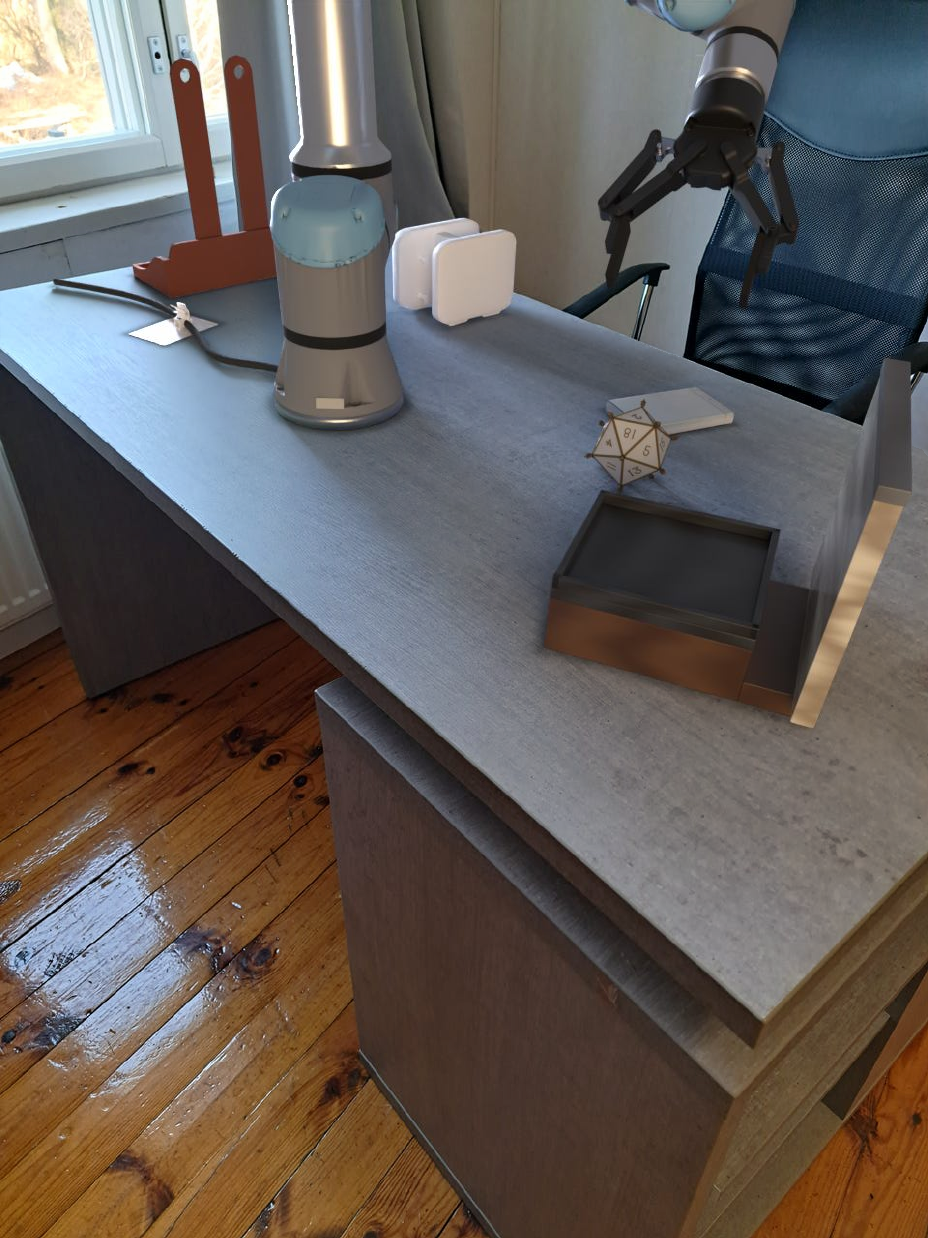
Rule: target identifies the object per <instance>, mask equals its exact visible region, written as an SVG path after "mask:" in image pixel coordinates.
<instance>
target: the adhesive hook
mask: <svg viewBox="0 0 928 1238" xmlns="http://www.w3.org/2000/svg"><path fill="white" fill-rule="evenodd" d="M169 306H170V307H171V308H173V309H174V310H176V311H173V312H174V313H177V316H176V317H175V318H173V317H172V318H173V327H174V328H176V329H178V330H180V331H181V330H183V329H184V328H185V326H184V321H185V320H188V321H189V322H190V323H193V319H192V318H191V316H192V315H190V311H189V309H188V308H187V306H186V304H185V303H184V302H178V301H177V302H176V305H173V304H170V305H169ZM179 318H181V319H180V320H179Z"/></svg>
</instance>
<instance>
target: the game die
mask: <svg viewBox="0 0 928 1238" xmlns="http://www.w3.org/2000/svg"><path fill="white" fill-rule="evenodd" d="M645 403H646V402H645V399H643V400H642V401H641V404H640V405H641V407H639V408H636V409H634V410H631V411H628V412H625V413H622V414H620V415H617V416H613V415H614V414H612V412H607V414H606V415H607V417H608V420H607V421H606V422H605V421H604V420H602V419H600V420H598V425H599V426H600V427H602V428H601V430H600V432H599V435H598V437H597V440H596V442H595V445H594V447H593V450H592V452H591V453H590V452H588V453H585V455H584V456H583V458H585V459H587V460H588V459H591V458H593V459H594V460H595V461H596V462H597V463H598V464H599V465H600V466H601V467H602V469H603V470H604V471H605V472H606V473H607V474H608V475H609V476H610V477H611V478H612V479H613V480H614V482H615V483H617V485H619V486H618V487H617V490H616V491H617V493H619V494H622V493H623V490H624V486H627V485H629V484H632V483H635V482H636V481H639V480H641V479H644V478H647V477H648V478H649V480H653V481H654V480H655V476H654V474H655V473H657V472H659V473H660V474H661V475H667V472H666V471H667V469H665V468H662V467H663V464H664V460H665V458H666V456H667V453H668V450H669V447H670V444H671V441H672V442H673V441H677V440H678V439H679V438H680V436H679V435H677V434H672V435H671V436H670V434H669V435H668V434H667V433H666V431H665V430H664V429H663V428H662V427H661V422H658V421H657V422H656V421H655V419H654V418H653V417H652V416H651V415H650V414H649V413H648V412H647V411H646V410H645V409H644V406H645Z"/></svg>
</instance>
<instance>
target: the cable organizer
mask: <svg viewBox="0 0 928 1238" xmlns="http://www.w3.org/2000/svg"><path fill="white" fill-rule="evenodd" d="M480 230H481V229H480V226H479V224H478V222H476V221H475V220H472V219H469V218H466V217H458V218H453V219H447V220H443V221H437V222H430V223H425V224H420V225H415V226H409V227H404V228H401V229H400V230H398V231H397V233H396V238H395V241H394V243H393V246H392V248H391V253H392V255H391V256H392V257H391V259H392V296H393V297H392V298H393V301H394V303H395V304H396V305H398V306H400V307H402V308H404V309H406V310H412V311H417V310H422V309H425V308H430V307H431V310H432V312H431V313H432V316H433V319H435V320H436V321H437V322H439V323H442V324H444V325H447V326H448V327H454V326H457V325H460V324H463V323H466V322H468V320H470V319H475V318H478V317H483V318H488V317H491V316H495V315H498V314H500V313H501V312H502V311H503V310H506V309H507V308H508V307H509V306H510V304H511V303H512V302H513V297H514V288H515V274H516V273H515V271H516V259H517V257H516V255H517V238H516V235H515V234H514V233H513V232H512V231H509V230H506V229H494V230H490V231H484V232H480Z"/></svg>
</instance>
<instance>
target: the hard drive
mask: <svg viewBox="0 0 928 1238" xmlns="http://www.w3.org/2000/svg"><path fill="white" fill-rule="evenodd" d="M643 399H645V402H646V403H645V406H644V409H645V410H646V411H647V412H648V413H649V414H650V415H651V416H652V417H653V418H654V419H655V421H656V422H657V421H658V422H661V427H662V428H663V429H664V430H665V431H666V433H667V434H668V435H669V436H670V435H675V434H679V433H685V432H690V431H695V430H701V429H706V428H711V427H717V426H723V425H728V424H732V423H733V420H734V416H735V413H734V411H732V410H731V409H730V408H728V407H726V406H725V405H724V404H723V403H721V402H719V401H718V400H716V399H714V398H713V397H712V396H711V395H709V394H707V393H706V392H704V390H702V389H700V388H698V387H697V386H693V387H686V388H678V389H673V390H665V391H658V392H651V393H646V394H640V395H634V396H627V397H620V398H613V399H608V400H607V401H606V407H605V411H606V412H607V413H608V412H612V414H614V415H613V416H617V415H620V414H622V413H625V412H628V411H631V410H634V409H636V408H639V407H641V405H640V404H641V401H642V400H643Z"/></svg>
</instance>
